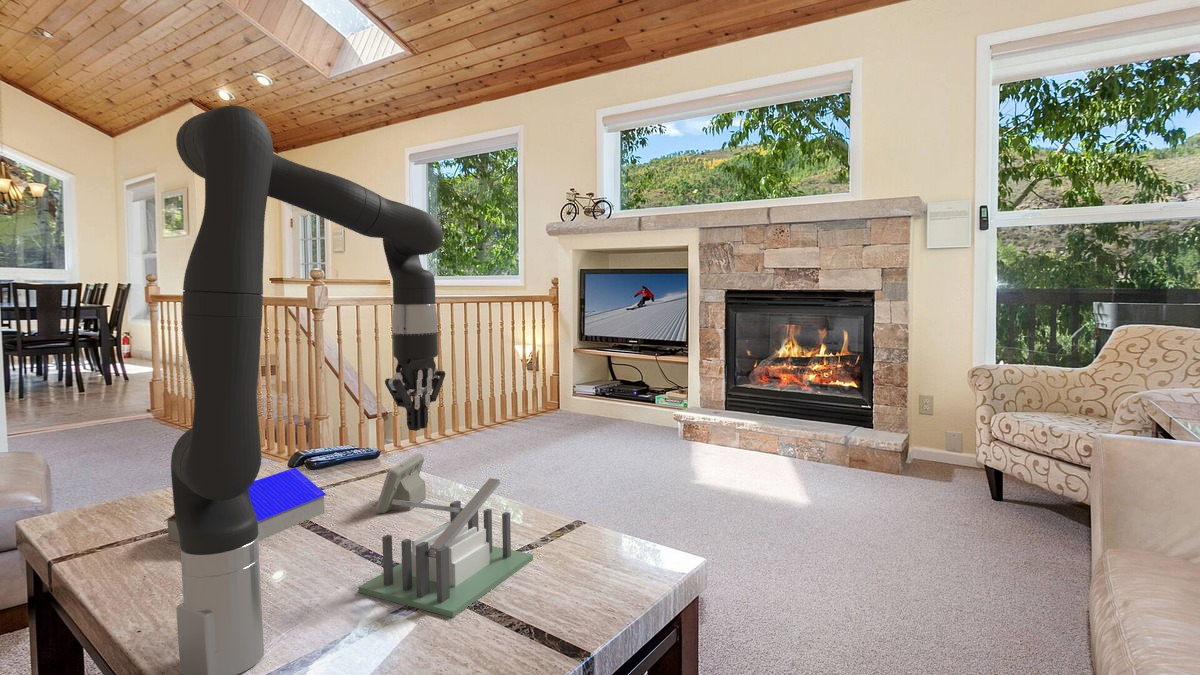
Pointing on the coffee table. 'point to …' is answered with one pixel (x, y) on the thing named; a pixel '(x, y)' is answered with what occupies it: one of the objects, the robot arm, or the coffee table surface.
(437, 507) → the strap
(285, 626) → the coffee table surface
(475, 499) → the strap
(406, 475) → the digital clock
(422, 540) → the heatsink board
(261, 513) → the blue ribbed slab
